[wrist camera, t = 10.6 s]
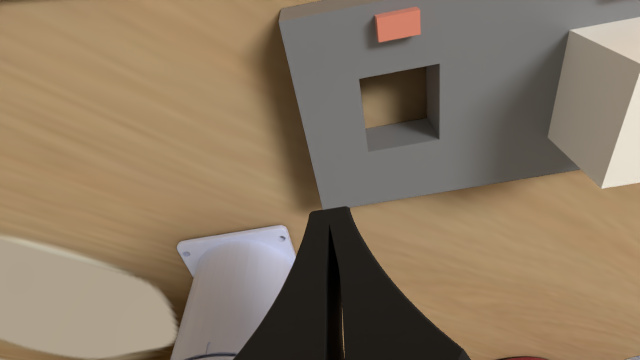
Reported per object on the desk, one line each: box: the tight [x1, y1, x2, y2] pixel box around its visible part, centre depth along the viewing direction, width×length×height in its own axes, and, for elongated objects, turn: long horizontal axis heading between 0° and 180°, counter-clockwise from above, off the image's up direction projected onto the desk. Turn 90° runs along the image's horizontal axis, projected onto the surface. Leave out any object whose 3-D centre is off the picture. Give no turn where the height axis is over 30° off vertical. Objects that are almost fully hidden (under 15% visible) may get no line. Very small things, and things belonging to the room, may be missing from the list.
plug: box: [548, 17, 640, 188], centre depth 18 cm, size 7×5×6 cm
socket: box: [279, 0, 640, 210], centre depth 20 cm, size 11×20×3 cm, turn 101°
